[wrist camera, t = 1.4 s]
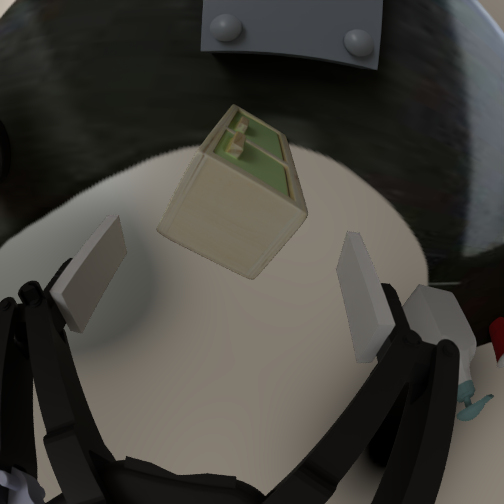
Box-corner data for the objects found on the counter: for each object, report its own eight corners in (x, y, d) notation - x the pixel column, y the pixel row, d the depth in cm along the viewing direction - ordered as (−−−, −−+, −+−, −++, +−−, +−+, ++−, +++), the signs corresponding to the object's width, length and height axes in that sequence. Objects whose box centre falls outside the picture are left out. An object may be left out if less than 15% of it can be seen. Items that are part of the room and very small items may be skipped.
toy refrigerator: (291, 131, 34) (317, 209, 17) (259, 174, 38) (251, 284, 21) (237, 97, 31) (199, 138, 15) (207, 144, 35) (150, 232, 18)
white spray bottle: (457, 286, 48) (508, 399, 26) (435, 313, 53) (475, 422, 31) (422, 276, 47) (477, 407, 25) (400, 306, 52) (439, 432, 30)
